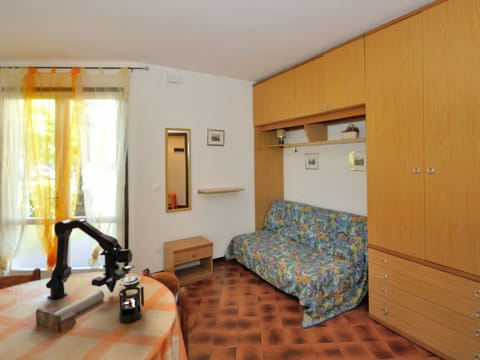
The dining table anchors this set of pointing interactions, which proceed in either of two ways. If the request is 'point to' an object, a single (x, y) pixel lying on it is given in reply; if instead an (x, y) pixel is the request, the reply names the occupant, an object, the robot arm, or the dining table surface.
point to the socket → (54, 319)
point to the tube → (82, 303)
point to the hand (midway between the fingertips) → (111, 292)
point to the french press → (130, 304)
